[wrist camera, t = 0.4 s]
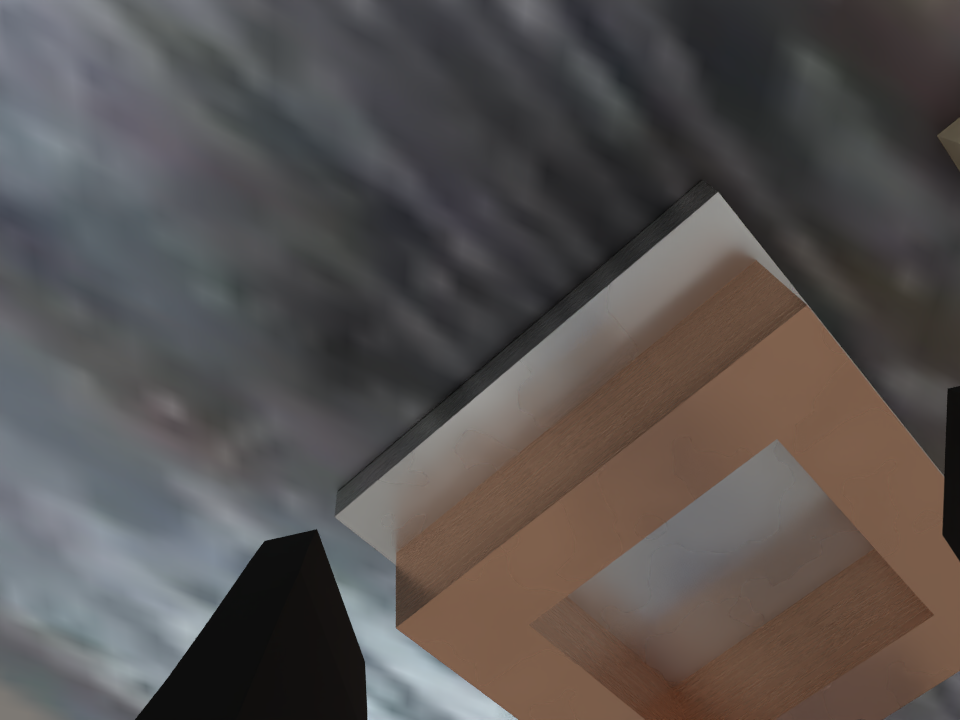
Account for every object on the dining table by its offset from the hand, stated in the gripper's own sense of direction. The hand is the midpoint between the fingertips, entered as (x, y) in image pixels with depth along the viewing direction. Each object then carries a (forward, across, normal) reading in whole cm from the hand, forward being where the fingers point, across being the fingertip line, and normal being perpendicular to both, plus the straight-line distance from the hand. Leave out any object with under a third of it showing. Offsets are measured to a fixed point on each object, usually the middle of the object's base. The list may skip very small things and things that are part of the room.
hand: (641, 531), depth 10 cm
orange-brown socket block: (+10, -3, +8) cm, 13 cm away
